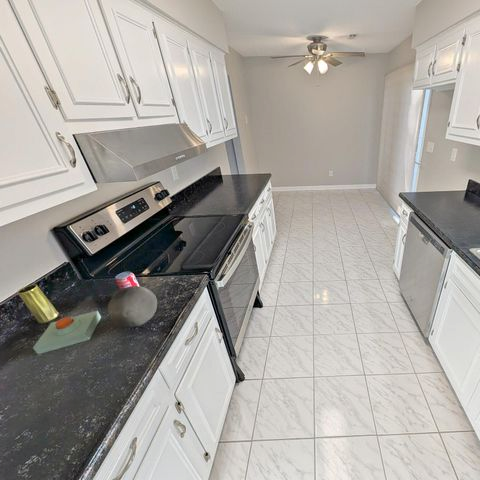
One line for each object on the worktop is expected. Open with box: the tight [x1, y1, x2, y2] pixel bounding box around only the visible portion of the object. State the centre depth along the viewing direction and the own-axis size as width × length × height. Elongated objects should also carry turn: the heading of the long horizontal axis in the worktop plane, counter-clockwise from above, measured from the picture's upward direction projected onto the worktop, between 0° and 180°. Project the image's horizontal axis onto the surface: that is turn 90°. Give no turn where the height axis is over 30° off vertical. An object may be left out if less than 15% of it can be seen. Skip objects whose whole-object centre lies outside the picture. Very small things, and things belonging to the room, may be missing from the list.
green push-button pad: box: [32, 310, 102, 355], centre depth 89 cm, size 14×12×5 cm
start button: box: [55, 316, 73, 329], centre depth 88 cm, size 4×4×2 cm
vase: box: [16, 284, 60, 324], centre depth 96 cm, size 6×6×14 cm
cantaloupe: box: [107, 285, 158, 329], centre depth 90 cm, size 14×14×15 cm
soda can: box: [114, 271, 140, 291], centre depth 104 cm, size 6×6×12 cm
